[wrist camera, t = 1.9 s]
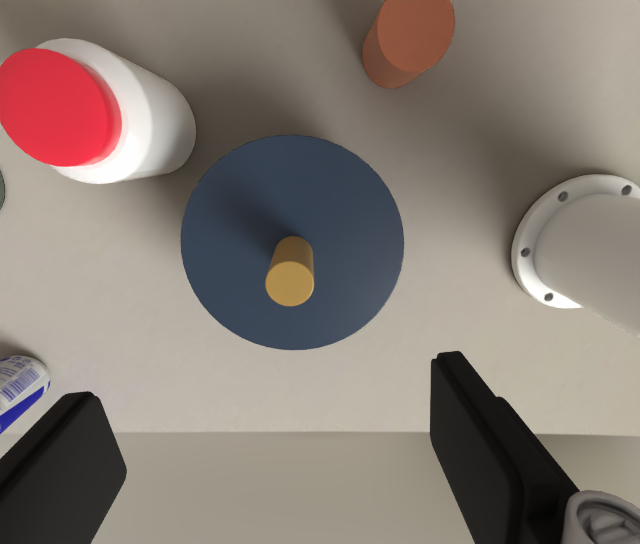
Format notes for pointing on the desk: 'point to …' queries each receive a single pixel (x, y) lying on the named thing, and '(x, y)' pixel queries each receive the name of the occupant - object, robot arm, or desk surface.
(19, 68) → the pill bottle
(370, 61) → the candle
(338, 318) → the lid
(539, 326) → the desk surface
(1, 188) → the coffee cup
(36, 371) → the beverage can
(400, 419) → the desk surface
